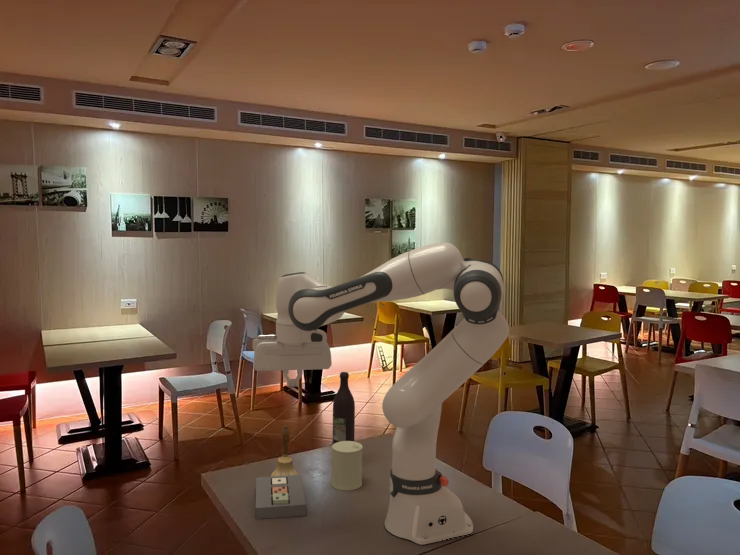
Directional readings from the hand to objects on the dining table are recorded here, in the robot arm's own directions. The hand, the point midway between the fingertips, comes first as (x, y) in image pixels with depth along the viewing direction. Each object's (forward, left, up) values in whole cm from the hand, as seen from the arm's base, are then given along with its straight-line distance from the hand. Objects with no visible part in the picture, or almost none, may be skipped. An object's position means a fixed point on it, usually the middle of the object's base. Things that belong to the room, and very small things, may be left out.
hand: (292, 386), depth 149 cm
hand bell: (+1, -23, -34) cm, 42 cm away
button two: (+3, -1, -33) cm, 33 cm away
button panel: (+3, -7, -34) cm, 35 cm away
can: (-17, -15, -34) cm, 41 cm away
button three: (+3, -7, -33) cm, 34 cm away
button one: (+3, -13, -33) cm, 36 cm away
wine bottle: (-18, -30, -34) cm, 49 cm away
